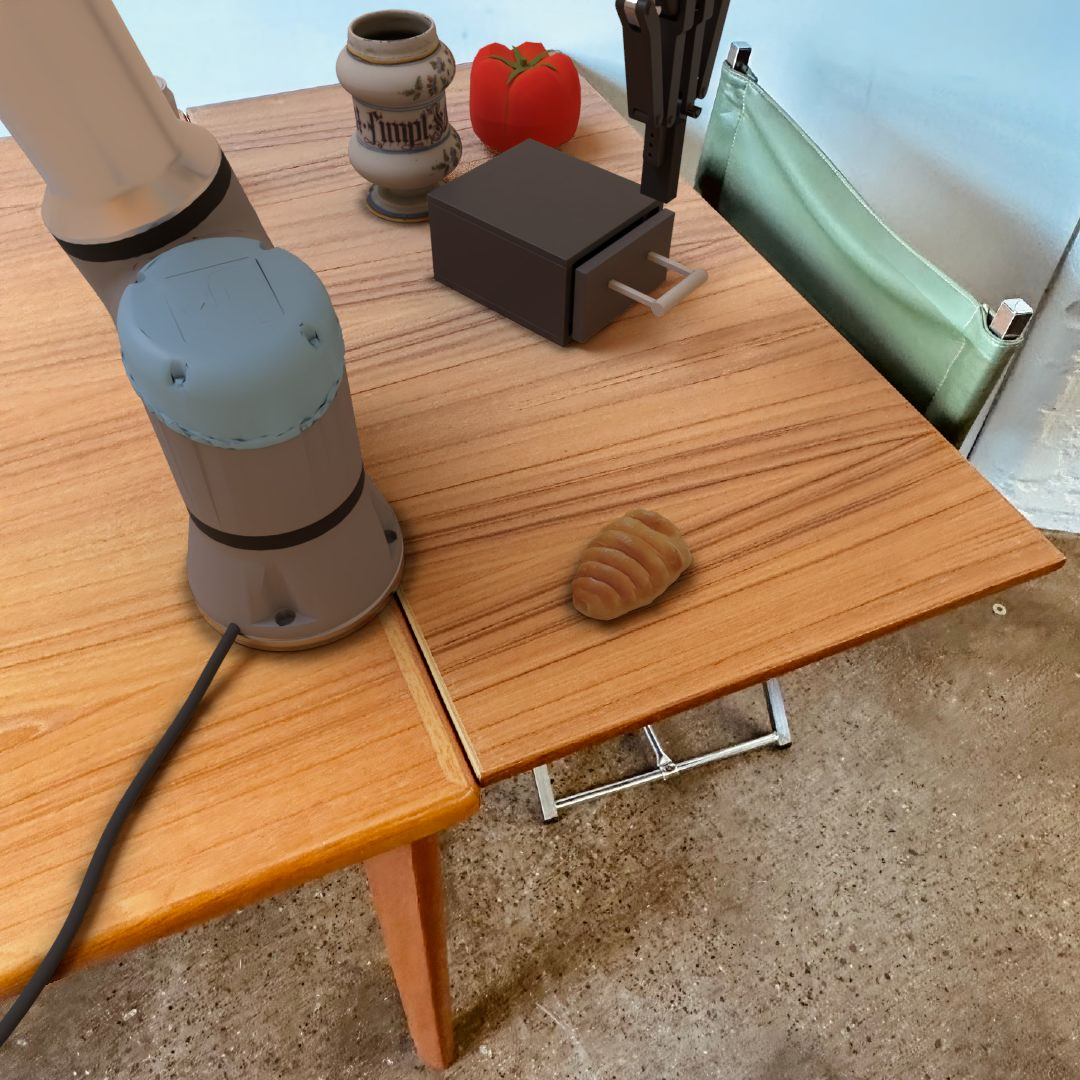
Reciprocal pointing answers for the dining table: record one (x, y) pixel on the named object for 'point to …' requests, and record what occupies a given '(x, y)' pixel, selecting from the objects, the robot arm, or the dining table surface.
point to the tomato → (523, 96)
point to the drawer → (628, 275)
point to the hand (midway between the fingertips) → (658, 194)
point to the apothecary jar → (399, 110)
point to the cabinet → (528, 231)
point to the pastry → (629, 565)
